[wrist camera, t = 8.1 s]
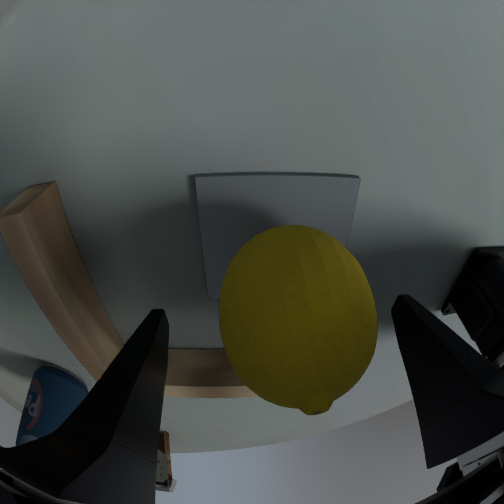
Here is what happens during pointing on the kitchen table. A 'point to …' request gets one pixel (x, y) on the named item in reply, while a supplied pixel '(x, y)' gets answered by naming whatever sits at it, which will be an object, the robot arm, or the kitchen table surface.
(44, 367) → the soda can
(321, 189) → the mat
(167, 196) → the kitchen table surface
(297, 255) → the lemon
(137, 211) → the kitchen table surface
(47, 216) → the l-shaped wooden corner
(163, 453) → the food container
